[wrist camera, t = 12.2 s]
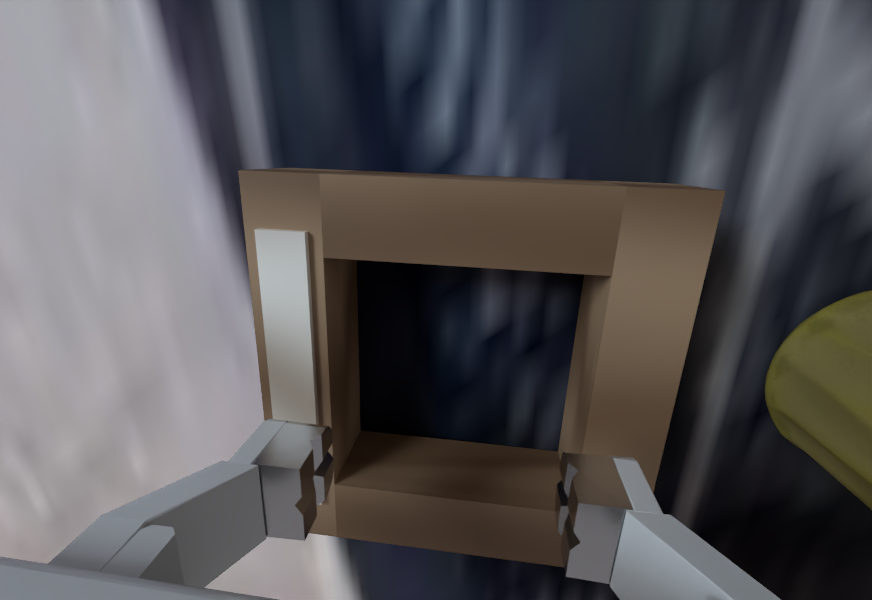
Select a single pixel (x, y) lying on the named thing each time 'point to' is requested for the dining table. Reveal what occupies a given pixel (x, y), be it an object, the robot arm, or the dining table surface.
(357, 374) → the brown square frame
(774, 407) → the vase
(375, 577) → the dining table surface
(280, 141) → the dining table surface
